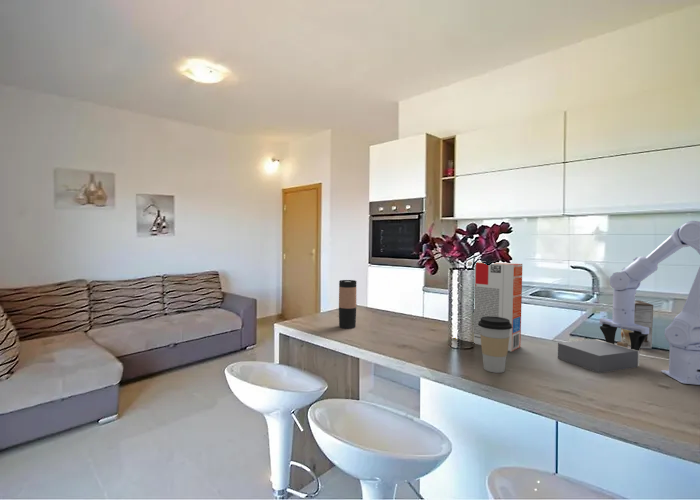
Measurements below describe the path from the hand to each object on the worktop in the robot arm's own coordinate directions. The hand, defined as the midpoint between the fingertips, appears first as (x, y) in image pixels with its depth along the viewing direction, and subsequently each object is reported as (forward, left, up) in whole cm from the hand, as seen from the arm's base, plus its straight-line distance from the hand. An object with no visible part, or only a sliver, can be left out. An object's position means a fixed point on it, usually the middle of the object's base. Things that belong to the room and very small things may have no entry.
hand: (622, 350), depth 120 cm
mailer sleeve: (-6, +10, -3) cm, 12 cm away
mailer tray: (-4, +8, -2) cm, 9 cm away
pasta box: (+10, +41, -3) cm, 42 cm away
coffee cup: (-20, +43, -3) cm, 47 cm away
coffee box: (+20, -14, -3) cm, 25 cm away
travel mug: (+22, +96, -3) cm, 99 cm away
